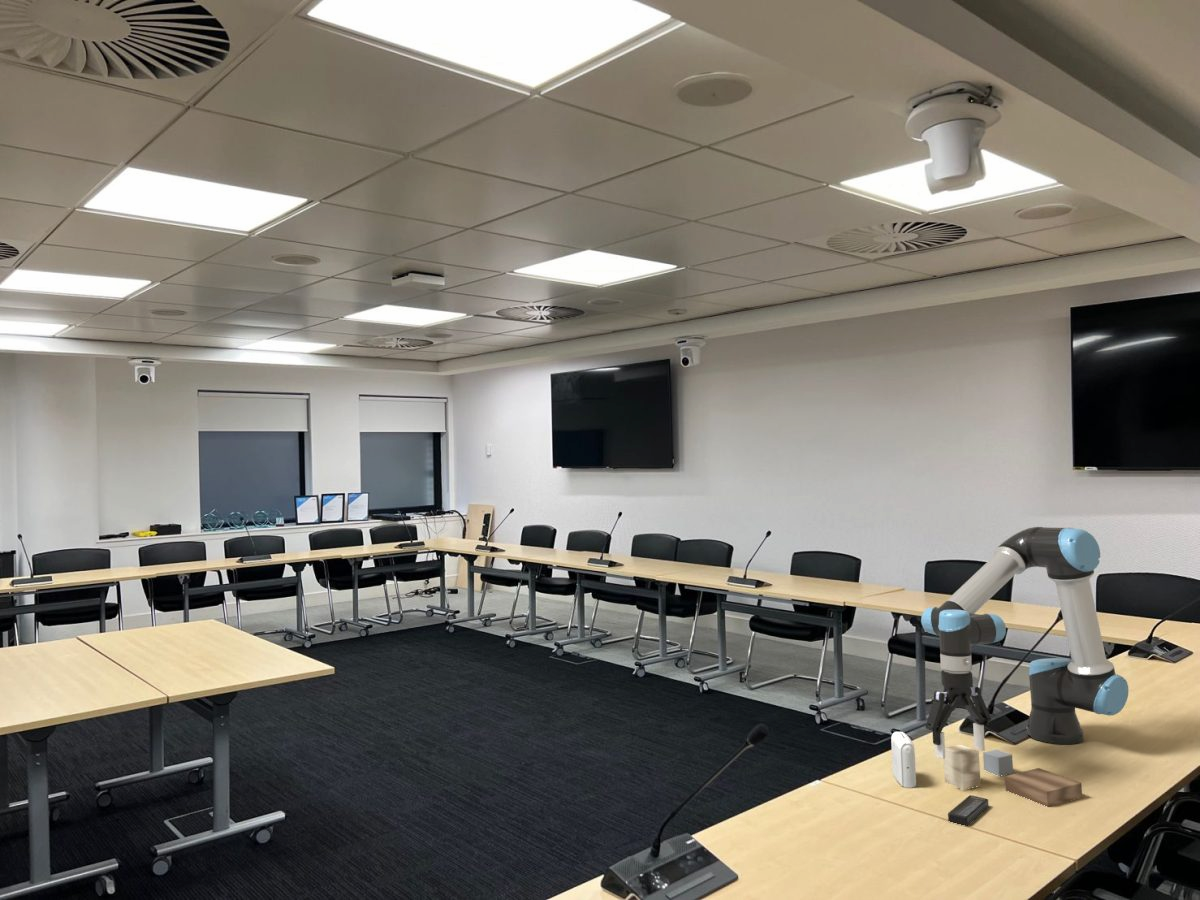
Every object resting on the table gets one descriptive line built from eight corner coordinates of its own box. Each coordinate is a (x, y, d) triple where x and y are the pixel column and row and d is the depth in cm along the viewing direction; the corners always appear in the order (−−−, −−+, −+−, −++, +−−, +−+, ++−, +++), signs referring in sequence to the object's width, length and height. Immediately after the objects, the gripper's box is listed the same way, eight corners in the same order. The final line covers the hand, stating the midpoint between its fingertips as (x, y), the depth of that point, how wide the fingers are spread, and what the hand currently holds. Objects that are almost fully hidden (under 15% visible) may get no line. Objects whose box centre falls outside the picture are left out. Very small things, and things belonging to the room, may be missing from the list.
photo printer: (918, 788, 212) (916, 739, 213) (901, 788, 213) (899, 739, 213) (907, 774, 222) (904, 727, 223) (891, 774, 223) (888, 727, 223)
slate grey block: (997, 768, 224) (996, 749, 225) (1013, 773, 220) (1012, 754, 220) (984, 771, 223) (983, 752, 223) (999, 777, 218) (998, 757, 218)
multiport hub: (947, 823, 191) (947, 813, 191) (970, 804, 202) (969, 794, 202) (967, 828, 188) (966, 818, 188) (989, 808, 199) (988, 799, 199)
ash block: (962, 779, 217) (960, 744, 218) (980, 786, 212) (978, 750, 212) (945, 783, 215) (943, 748, 215) (963, 790, 210) (961, 754, 210)
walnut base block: (1039, 783, 213) (1038, 768, 213) (1082, 799, 202) (1081, 782, 202) (1005, 792, 208) (1004, 776, 209) (1047, 808, 197) (1046, 791, 198)
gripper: (930, 678, 206) (934, 765, 205) (1003, 668, 216) (1007, 750, 215) (908, 673, 213) (912, 756, 212) (980, 662, 223) (983, 742, 222)
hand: (960, 753), depth 214 cm, fingers open, 13 cm apart
